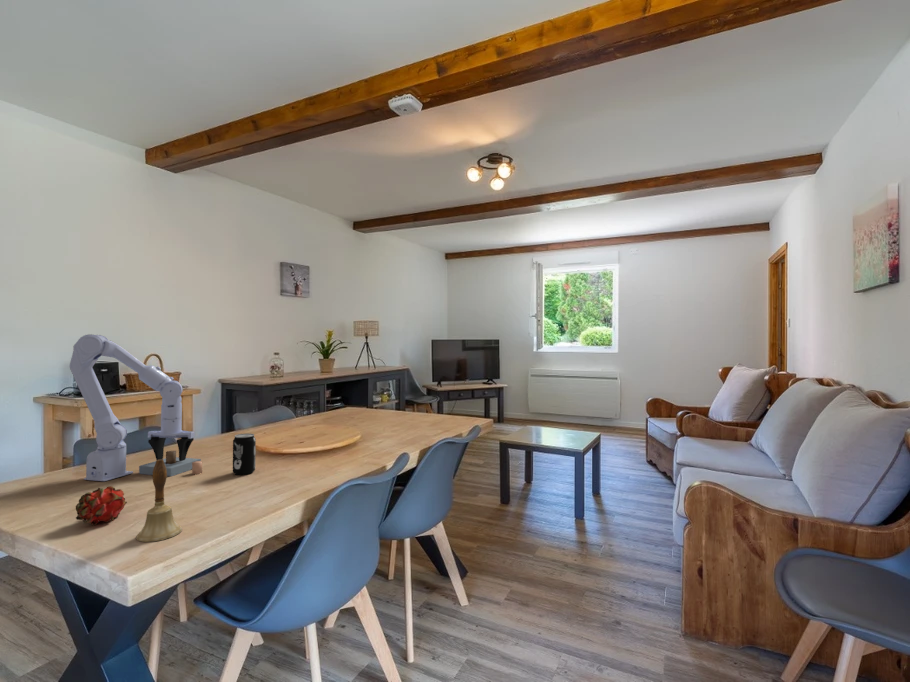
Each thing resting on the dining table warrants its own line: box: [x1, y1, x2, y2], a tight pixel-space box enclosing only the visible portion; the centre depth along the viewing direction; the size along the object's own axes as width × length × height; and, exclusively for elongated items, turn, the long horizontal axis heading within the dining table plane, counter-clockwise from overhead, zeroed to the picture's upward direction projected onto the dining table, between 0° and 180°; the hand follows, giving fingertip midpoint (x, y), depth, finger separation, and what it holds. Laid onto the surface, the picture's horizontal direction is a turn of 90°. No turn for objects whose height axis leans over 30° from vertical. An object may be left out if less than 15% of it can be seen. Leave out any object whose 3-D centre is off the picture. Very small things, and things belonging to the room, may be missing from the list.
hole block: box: [138, 456, 202, 477], centre depth 147 cm, size 12×12×2 cm
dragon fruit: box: [75, 485, 128, 526], centre depth 105 cm, size 8×8×12 cm
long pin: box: [165, 450, 177, 464], centre depth 147 cm, size 3×3×6 cm
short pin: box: [191, 460, 203, 475], centre depth 144 cm, size 3×3×4 cm
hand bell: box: [135, 458, 183, 543], centre depth 98 cm, size 8×8×16 cm
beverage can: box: [232, 433, 257, 476], centre depth 145 cm, size 7×7×12 cm
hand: (171, 460), depth 147 cm, fingers open, 7 cm apart
